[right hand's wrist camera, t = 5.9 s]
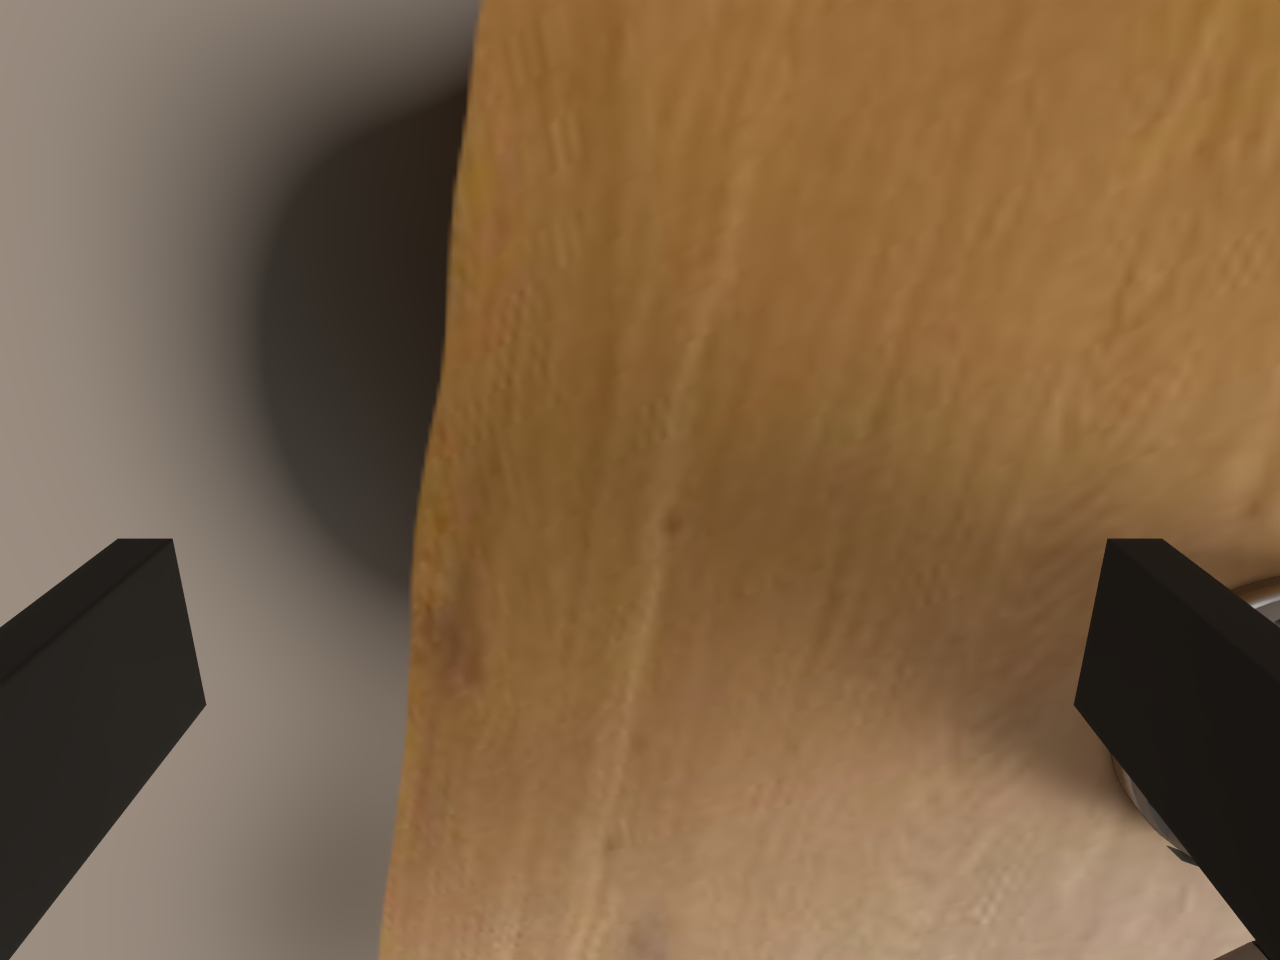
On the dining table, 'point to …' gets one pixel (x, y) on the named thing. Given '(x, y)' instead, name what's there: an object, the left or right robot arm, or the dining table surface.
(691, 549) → the dining table surface
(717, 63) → the dining table surface
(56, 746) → the right robot arm
